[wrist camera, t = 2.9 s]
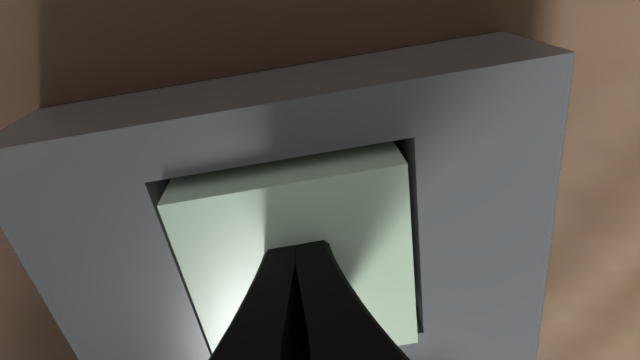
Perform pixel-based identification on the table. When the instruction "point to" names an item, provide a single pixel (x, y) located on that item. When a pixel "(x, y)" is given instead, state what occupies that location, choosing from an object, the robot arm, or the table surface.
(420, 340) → the button housing
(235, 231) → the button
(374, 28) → the table surface
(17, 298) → the table surface
